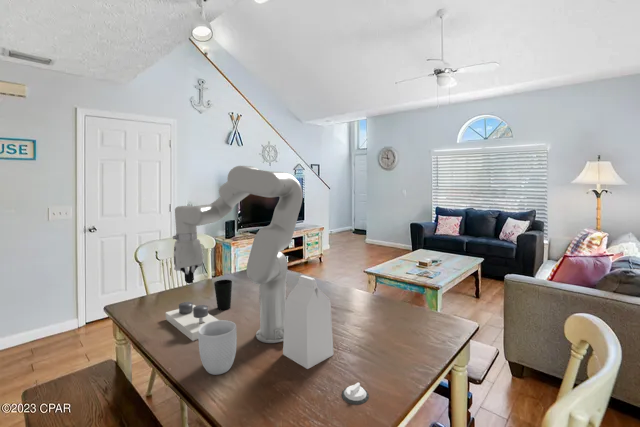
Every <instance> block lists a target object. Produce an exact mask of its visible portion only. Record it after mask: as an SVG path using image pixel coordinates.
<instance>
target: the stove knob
mask: <svg viewBox="0 0 640 427" xmlns="http://www.w3.org/2000/svg"><path fill="white" fill-rule="evenodd" d="M341 398H342V399H343V401H345V403H348V404H351V405H354V406H355V405H362V404H365V403H366V402H367V401H368V400H369V398H370V395H369V393H368V391H367V390H366V389H364V387H362V386H361V383H360V382H359V381H358V382H356V383H355V384H353V385H349V386H347V387H346V388H344V389H343V390H342V391H341Z"/></svg>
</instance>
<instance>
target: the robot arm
mask: <svg viewBox="0 0 640 427" xmlns="http://www.w3.org/2000/svg"><path fill="white" fill-rule="evenodd" d="M226 180H227V181H226V182H225V183H223V184H222V185H221V186H219V189H218V193H219V197H218V198H217V199H216V200H214V201H213V202H211V203H208V204H201V205H179V206H176V207H175V208H174V216H175V217H174V220H175V221H174V222H175V234H174V235H172V240H176V241H174V245H173V265H174V268H173V269H174V270H175V271H178V272H182V273H184V281H185V282H186V284H189V285H190V284H193V283H194V281H195V277H194V276H195V275H194V273H195V271H196V270H197V269H198V268H200V267H202V266H203V262H204V257H203V249H202V245H201V241H200V240H201V239H198V234H197V232H198V231H197V228H198V227H199V226H203V225H204V226H205V225H210V224H214V223H216V222H219V221H220V220H222V219H223V218H225V217H226V216H227V215H229V214H230V213H231V212H232V211H233V210H234V208H235V207H236V205H237V204H238V203H240V202H242V201H243V200H244V199H245V198H247V197H248V196H250V195H254V196H259V197H264V198H277V197H279V200H278V201H277V204H276V206H275V208H274V211H273V215H272V218H271V222H270V224H268V225H267V226H263V227H262V228H260V229H259V230H258V231H257V232H256V234H255V236H254V238H253V241H252V244H251V249H250V251H249V257H248V260H247V264H246V275H247V278H248V279H249V281H250V282H251V283H253V284H254V285H257V286H259V296H258V297H259V329H258V330H257V331H256V333H255V338H256V339H257V340H258V341H259V342H261V343H266V344H276V343H281V342H283V341H284V315H285V300H286V298H287V296H286V295H287V294H286V293H287V290H286V289H287V286H286V285H287V274H288V259H287V258H286V255H285V254H284V253H283V252H281V251H282V250H285V249H287V248H288V247H289V246H290V245H291V242H292V240H293V237H294V236H293V235H294V233H295V228H296V224H297V222H298V218H299V213H300V211H301V207H302V203H303V195H304V194H303V189H302V186H301V183H300V182H299V181H298V179H297V178H296V177H295V176H294V175H293V174H291V173H288V172H284V171H268V170H264V169H263V170H262V169H259V168H258V167H255V166H251V165H236V166H234V167H232V169H230V171H229V172H228V174H227V179H226Z"/></svg>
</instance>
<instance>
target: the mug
mask: <svg viewBox="0 0 640 427" xmlns="http://www.w3.org/2000/svg"><path fill="white" fill-rule="evenodd" d="M237 332H238V331H237V324H236V323H235V322H234V321H231V320H226V319H221V320H220V319H218V321H212V322H209V323H206V324H204V325H203V326H201V327H200V328H199V330H198V339H197V341H198V350H199V352H198V353H199V358H200V360H201V363H202V366H203V368H204V369H205V371H206V372H207V373H208V374H210V375H214V376H215V375H216V376H218V375H222V374H225V373H227V372H228V371H229V370H230V369H231V368H232V366H233V364H234V363H235V362H234V361H235V358H236V354H237V343H238V342H237V341H238V339H237Z"/></svg>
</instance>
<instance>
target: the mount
mask: <svg viewBox="0 0 640 427" xmlns="http://www.w3.org/2000/svg"><path fill="white" fill-rule="evenodd" d="M195 306H196V305H195V304H193V308H194V307H195ZM165 320H166V321H167V322H169V323H170V324H171V325H172V326H174V327H175V328H176V329H177V330H178V331H180V332H181V333H182V334H183V335H185V336H186V338H189V340H191V341H192V342H194V341H196V340H197V341H198V340H199V339H198V330H199V328H200V327H201V326H203V325H204V324H206V323H209V322H212V321H218V320H219V319H218V318H216V317H215V316H213V315H212V314H210V313H208V315H207V316H206V317H203V323H201V324H200V323H199V318H195V317H194V316H193V311H192V312H190V313H187V314H181V313H179V308H177V309H173V310H169V311H166V312H165Z"/></svg>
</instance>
